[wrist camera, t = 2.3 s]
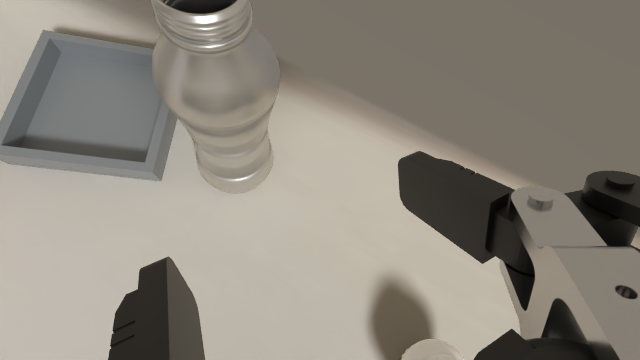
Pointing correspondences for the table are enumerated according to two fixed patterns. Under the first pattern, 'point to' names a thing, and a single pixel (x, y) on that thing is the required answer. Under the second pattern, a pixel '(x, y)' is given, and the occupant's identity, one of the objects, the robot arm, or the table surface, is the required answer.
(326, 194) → the table surface
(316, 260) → the table surface
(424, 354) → the white rounded piece
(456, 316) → the table surface
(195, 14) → the plastic bottle
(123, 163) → the bottle tray
